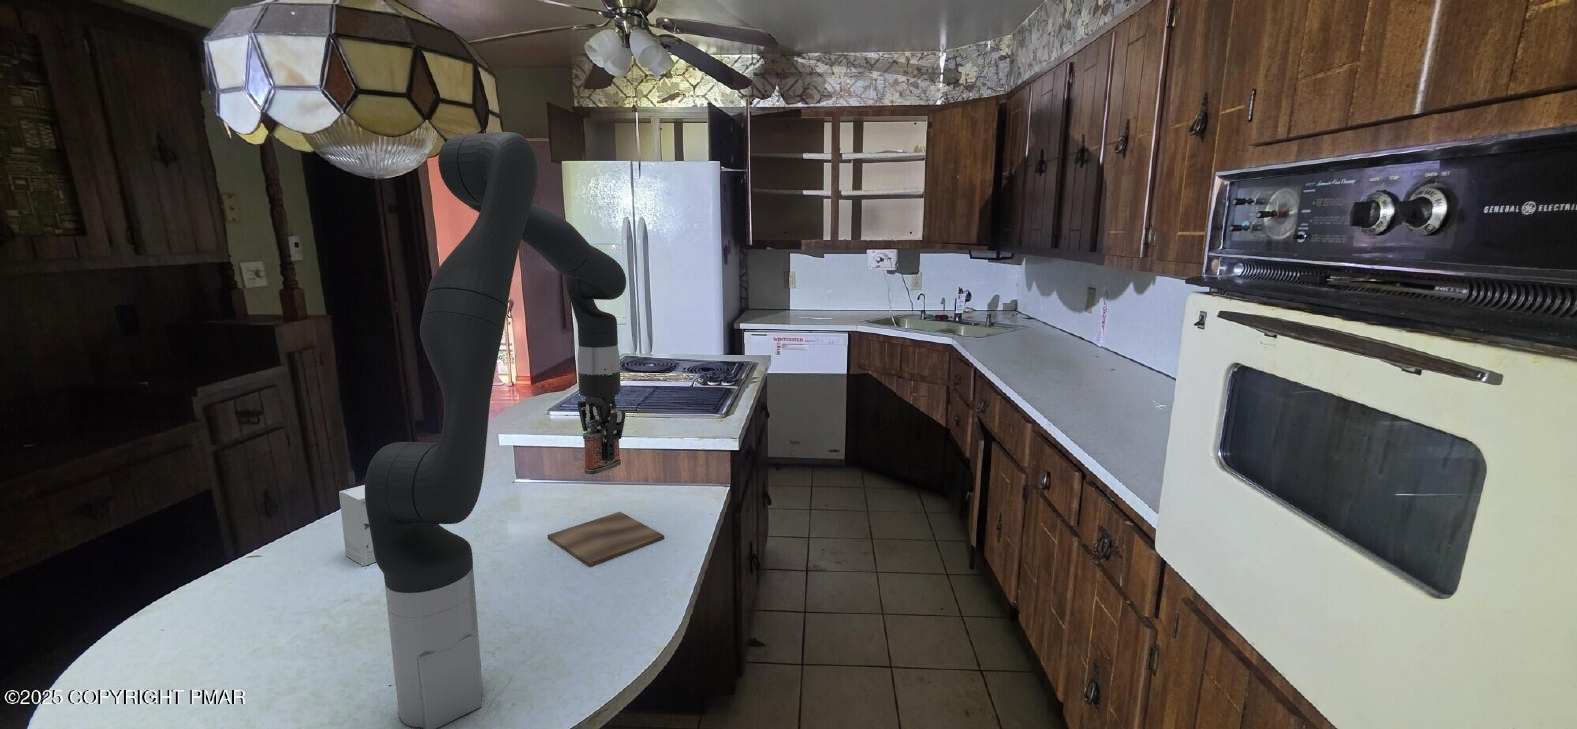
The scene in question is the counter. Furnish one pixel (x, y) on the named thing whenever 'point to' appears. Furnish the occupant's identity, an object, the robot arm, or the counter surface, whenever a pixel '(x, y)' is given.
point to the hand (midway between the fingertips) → (602, 457)
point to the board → (605, 538)
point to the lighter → (597, 451)
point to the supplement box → (356, 526)
